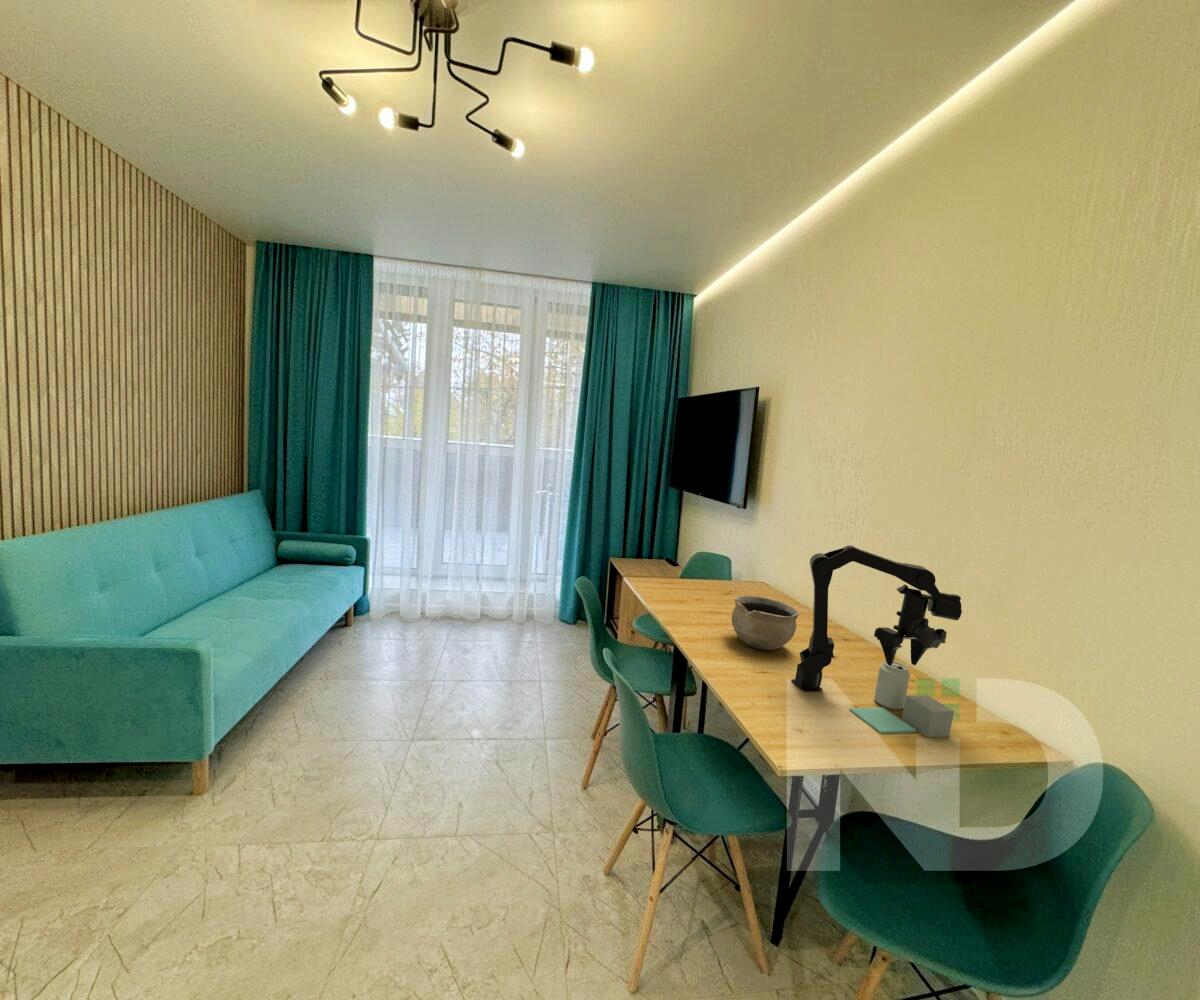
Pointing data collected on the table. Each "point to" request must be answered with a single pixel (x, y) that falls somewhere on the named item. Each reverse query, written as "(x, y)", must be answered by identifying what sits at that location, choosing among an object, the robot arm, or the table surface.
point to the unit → (927, 716)
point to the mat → (882, 720)
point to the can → (892, 685)
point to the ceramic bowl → (763, 622)
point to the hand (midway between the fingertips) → (901, 665)
